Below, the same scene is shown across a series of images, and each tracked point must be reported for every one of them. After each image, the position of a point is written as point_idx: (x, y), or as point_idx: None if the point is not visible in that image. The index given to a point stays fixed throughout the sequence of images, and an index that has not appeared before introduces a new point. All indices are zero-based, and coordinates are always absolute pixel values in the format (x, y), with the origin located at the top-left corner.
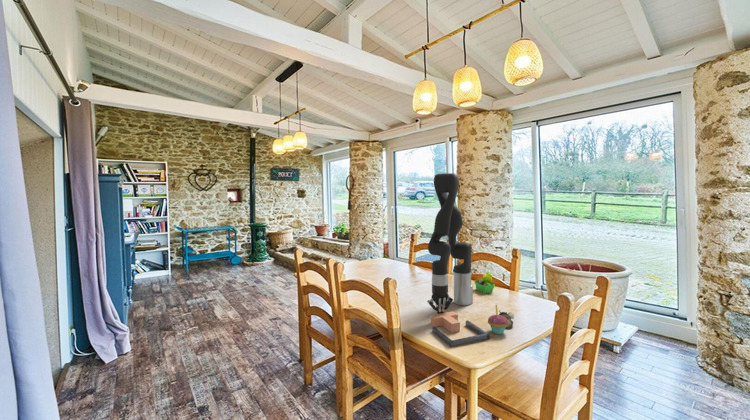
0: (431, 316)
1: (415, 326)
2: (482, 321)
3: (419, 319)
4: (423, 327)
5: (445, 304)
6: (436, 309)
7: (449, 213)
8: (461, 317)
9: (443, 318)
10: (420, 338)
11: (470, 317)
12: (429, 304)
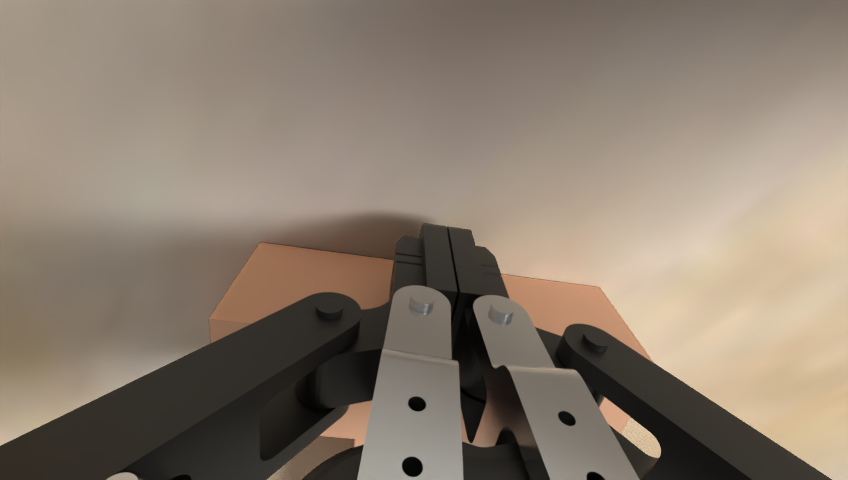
0: (215, 338)
1: (2, 215)
2: (778, 435)
3: (147, 18)
4: (113, 286)
5: (640, 408)
6: (315, 411)
7: None
8: (737, 284)
9: (355, 446)
10: (2, 444)
11: (808, 330)
12: (109, 405)
